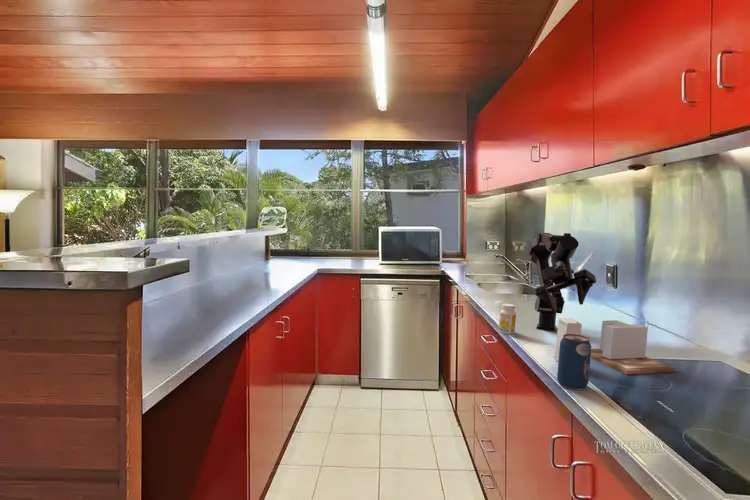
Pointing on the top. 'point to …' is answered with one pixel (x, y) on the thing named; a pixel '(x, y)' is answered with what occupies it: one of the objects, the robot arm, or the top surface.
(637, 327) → the white block
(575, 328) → the skincare box
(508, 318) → the supplement bottle
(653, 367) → the brown board
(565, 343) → the soda can
